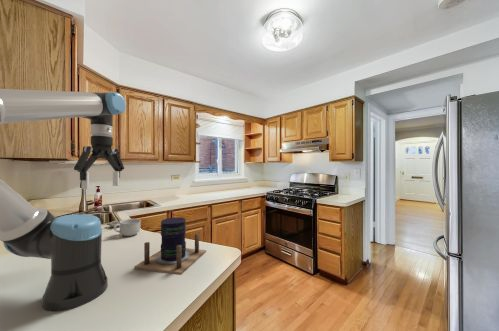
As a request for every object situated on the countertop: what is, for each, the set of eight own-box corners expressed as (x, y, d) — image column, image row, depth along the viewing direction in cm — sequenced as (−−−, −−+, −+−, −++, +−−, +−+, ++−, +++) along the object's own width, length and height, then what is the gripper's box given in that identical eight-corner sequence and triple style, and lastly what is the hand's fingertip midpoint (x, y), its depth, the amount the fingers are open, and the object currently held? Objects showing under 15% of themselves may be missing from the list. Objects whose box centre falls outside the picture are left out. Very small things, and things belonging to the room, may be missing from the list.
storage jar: (165, 264, 79) (165, 225, 79) (157, 255, 86) (157, 220, 86) (189, 256, 85) (189, 220, 85) (180, 249, 93) (180, 216, 93)
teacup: (137, 230, 127) (137, 217, 127) (143, 234, 119) (143, 220, 119) (110, 235, 117) (110, 221, 117) (115, 240, 109) (115, 225, 109)
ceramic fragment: (109, 225, 130) (106, 220, 138) (109, 230, 131) (106, 225, 138) (128, 222, 138) (124, 217, 145) (128, 226, 138) (124, 222, 145)
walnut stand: (181, 276, 73) (181, 249, 74) (134, 270, 78) (134, 245, 78) (206, 253, 93) (206, 232, 93) (167, 249, 98) (167, 229, 98)
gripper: (77, 130, 73) (77, 190, 72) (133, 139, 97) (132, 184, 97) (61, 131, 74) (61, 190, 74) (119, 140, 99) (119, 184, 98)
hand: (101, 187), depth 85 cm, fingers open, 13 cm apart
